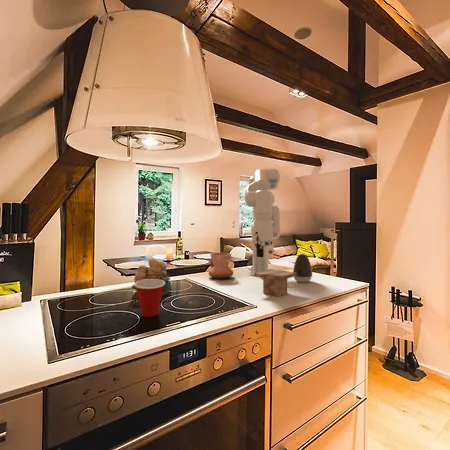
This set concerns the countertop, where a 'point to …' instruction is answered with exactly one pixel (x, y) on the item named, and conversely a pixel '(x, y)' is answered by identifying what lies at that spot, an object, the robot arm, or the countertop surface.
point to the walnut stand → (275, 281)
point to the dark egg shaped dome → (302, 269)
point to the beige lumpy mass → (152, 275)
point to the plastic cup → (149, 296)
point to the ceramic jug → (220, 266)
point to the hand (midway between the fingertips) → (263, 255)
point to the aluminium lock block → (265, 251)
